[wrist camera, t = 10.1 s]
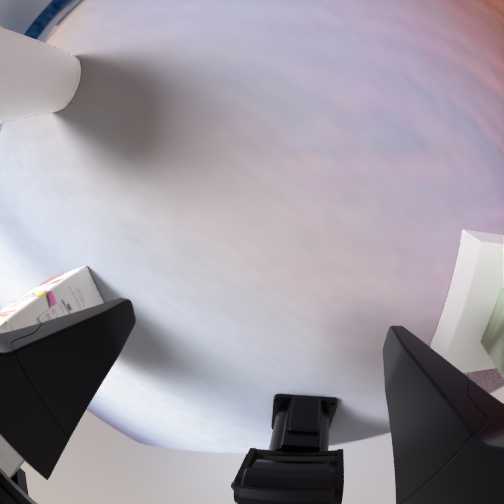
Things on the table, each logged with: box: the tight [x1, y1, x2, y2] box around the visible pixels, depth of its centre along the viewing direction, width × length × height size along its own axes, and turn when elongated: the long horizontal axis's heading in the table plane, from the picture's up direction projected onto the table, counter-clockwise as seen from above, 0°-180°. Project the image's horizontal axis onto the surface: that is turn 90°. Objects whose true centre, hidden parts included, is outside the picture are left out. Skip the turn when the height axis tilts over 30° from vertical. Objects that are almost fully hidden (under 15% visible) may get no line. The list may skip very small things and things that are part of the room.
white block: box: [430, 230, 504, 373], centre depth 16 cm, size 12×12×3 cm
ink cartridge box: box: [0, 266, 104, 334], centre depth 20 cm, size 9×5×15 cm, turn 107°
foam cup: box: [0, 26, 81, 124], centre depth 13 cm, size 10×9×13 cm
